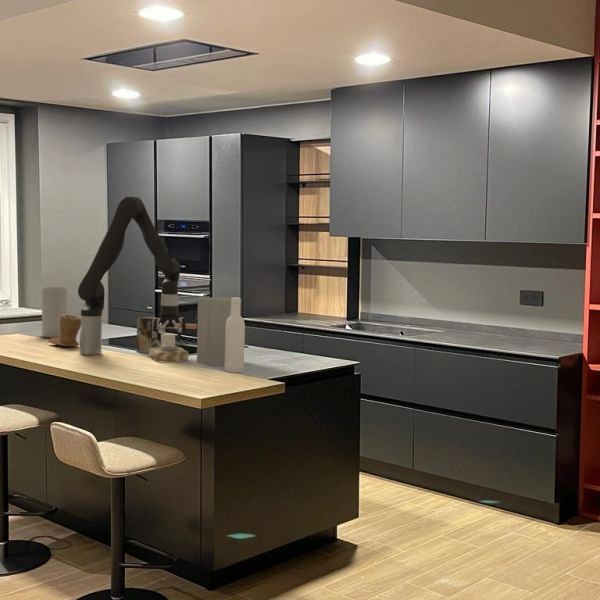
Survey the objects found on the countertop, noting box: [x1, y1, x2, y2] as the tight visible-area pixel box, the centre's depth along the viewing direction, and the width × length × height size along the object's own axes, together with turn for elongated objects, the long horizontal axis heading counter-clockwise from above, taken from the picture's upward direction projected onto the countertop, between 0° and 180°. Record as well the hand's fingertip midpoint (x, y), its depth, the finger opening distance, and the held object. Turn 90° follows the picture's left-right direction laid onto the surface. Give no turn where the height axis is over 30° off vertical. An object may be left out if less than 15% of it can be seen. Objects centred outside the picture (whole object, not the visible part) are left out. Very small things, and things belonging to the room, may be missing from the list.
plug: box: [160, 333, 179, 351], centre depth 376 cm, size 7×7×11 cm
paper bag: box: [196, 296, 242, 367], centre depth 368 cm, size 19×15×28 cm
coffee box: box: [136, 316, 161, 354], centre depth 395 cm, size 9×6×16 cm
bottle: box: [224, 297, 246, 374], centre depth 349 cm, size 8×8×30 cm
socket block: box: [148, 346, 189, 363], centre depth 376 cm, size 14×14×4 cm
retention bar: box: [160, 322, 198, 330], centre depth 386 cm, size 3×16×2 cm, turn 93°
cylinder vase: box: [41, 286, 68, 339], centre depth 439 cm, size 12×12×25 cm
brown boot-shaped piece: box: [47, 314, 81, 348], centre depth 406 cm, size 15×12×15 cm
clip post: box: [160, 328, 166, 345], centre depth 386 cm, size 5×5×12 cm
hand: (169, 341), depth 376 cm, fingers open, 8 cm apart
